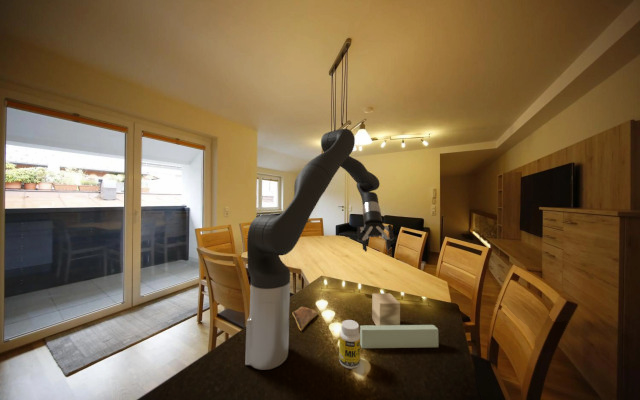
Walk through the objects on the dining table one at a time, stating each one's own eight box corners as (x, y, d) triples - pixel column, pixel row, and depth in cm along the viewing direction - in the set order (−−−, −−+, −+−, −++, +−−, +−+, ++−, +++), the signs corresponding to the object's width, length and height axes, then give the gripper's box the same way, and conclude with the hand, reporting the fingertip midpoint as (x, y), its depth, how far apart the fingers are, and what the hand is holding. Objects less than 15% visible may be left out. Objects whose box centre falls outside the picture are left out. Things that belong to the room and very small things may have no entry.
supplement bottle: (343, 371, 44) (344, 331, 44) (336, 356, 49) (336, 320, 49) (363, 367, 45) (364, 328, 46) (354, 352, 50) (354, 317, 50)
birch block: (379, 331, 59) (379, 303, 59) (372, 318, 66) (372, 293, 66) (399, 331, 59) (400, 303, 60) (390, 318, 66) (390, 293, 67)
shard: (300, 333, 58) (300, 327, 58) (279, 326, 61) (279, 319, 62) (318, 316, 67) (318, 310, 67) (299, 310, 71) (299, 305, 71)
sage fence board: (361, 348, 52) (362, 330, 52) (359, 343, 54) (360, 325, 54) (438, 347, 53) (438, 329, 53) (433, 342, 55) (433, 324, 55)
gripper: (355, 211, 86) (358, 247, 77) (390, 208, 84) (397, 246, 75) (355, 219, 92) (358, 254, 83) (387, 217, 90) (394, 253, 81)
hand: (377, 250), depth 79 cm, fingers open, 8 cm apart
